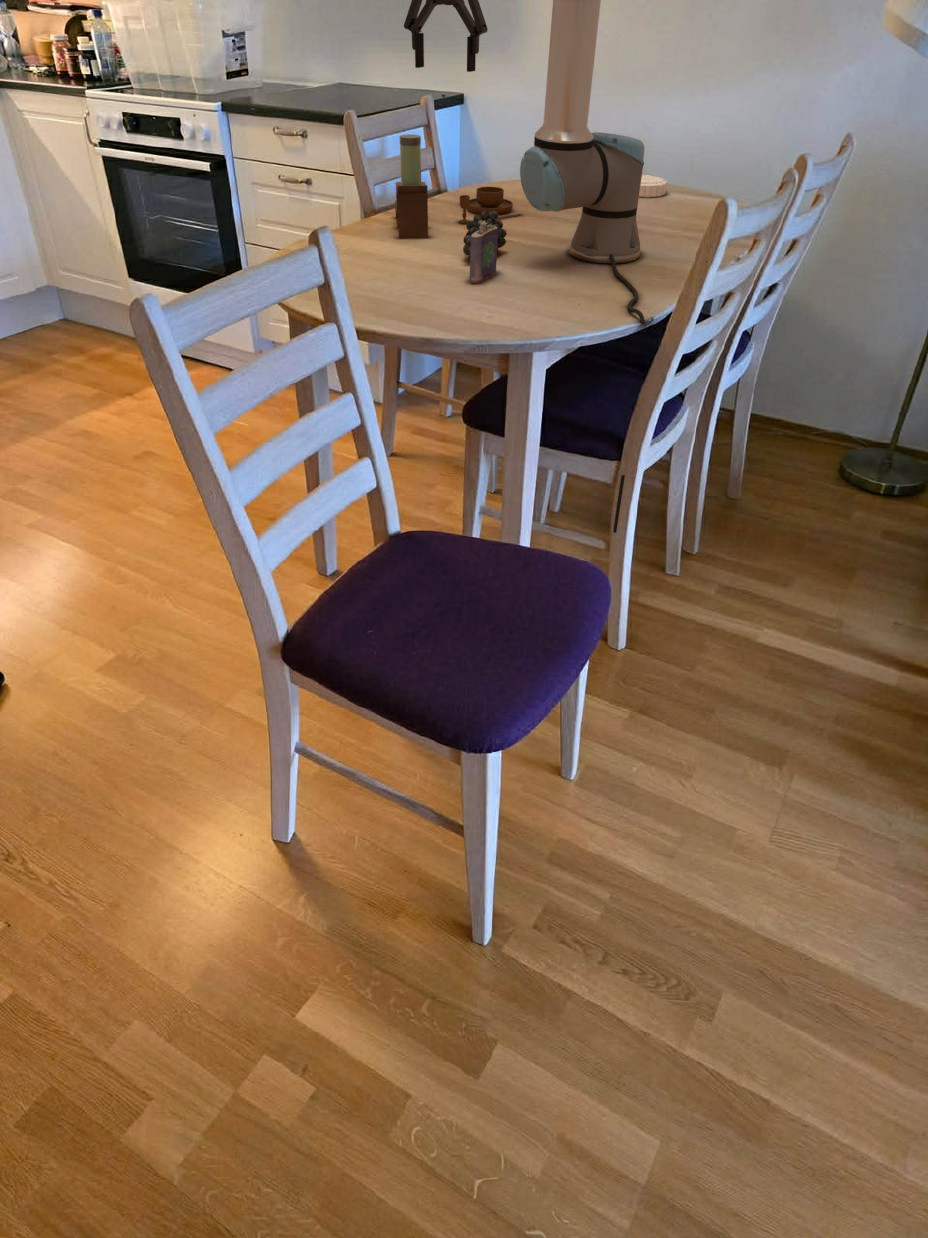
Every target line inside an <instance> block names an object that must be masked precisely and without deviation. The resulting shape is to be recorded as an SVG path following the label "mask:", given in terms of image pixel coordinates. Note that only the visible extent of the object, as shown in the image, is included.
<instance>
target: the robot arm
mask: <svg viewBox="0 0 928 1238" xmlns="http://www.w3.org/2000/svg"><path fill="white" fill-rule="evenodd" d="M601 2H602V0H552V6H551V7H552V8H551V21H550V22H551V23H550V35H549V46H548V48H549V49H548V57H547V58H548V60H547V61H548V62H547V73H546V84H545V85H546V86H545V87H546V88H545V96H544V97H545V98H544V100H545V101H544V110H543V111H544V112H543V123H542V125H541V126H540V128H539V129H538V130H537V131H535V133H534V138H533V139H534V140H533V146H530V148H528V149H527V150H525V151H524V153H523V156H522V157H521V160H520V166H519V178H520V183H521V187H522V192H523V194H524V195H525V197H526V200H527V201H528V203H529V204H530V205H531V206H532V207H533V208H534V209H535V210H537V211H539V212H542V213H543V212H545V213H546V212H555V213H558V212H561V211H565V210H572V209H577V208H578V209H579V208H582V210H581V215H580V219H579V222H578V224H577V226H576V229H575V232H574V234H573V237H572V239H571V241H570V242H571V243H570V247H569V254H570V255H571V256H573V257H574V258H576V259H578V260H582V261H585V262H590V263H597V264H611V265H612V270H613V273H614V275H615V276H616V277H617V278H618V280H620V281H622V283H624V284H625V286H626V287H627V288H628V289H629V290H630V291H631V292H632V293H633V298H631V299H630V300H629V302H628V303H627V305H626V308H627V310H628V312H630V313H634V314H636V315H638V317H639V321H640V324H641V325H645V324H646V321H645V317H644V314H643V313H642V311H641V310H640V309H638V308H635V307H632V305H633V304H635V302H636V301H638V298H639V293H638V290H637V289H636V288H635V287H634V286H633V285H632V284H631V282H629V280H627V279H626V278H625V277H624V276H623V275H621V273H620V272H619V270H618V268H617V264H624V263H629V262H630V263H631V262H633V261H635V260H638V259H639V258H640V255H641V240H640V235H639V234H640V233H639V227H638V222H637V214H638V213H637V212H638V205H639V198H640V197H639V191H640V184H641V177H642V175H643V170H644V165H645V161H644V158H645V144H644V143H643V141H642V140H641V139H638V138H635V137H631V136H626V135H621V134H617V133H608V132H601V131H600V132H599V131H593V132H591V130H590V129H589V127H588V123H589V122H588V121H589V112H590V105H591V104H590V103H591V96H592V94H591V93H592V86H593V77H594V67H595V57H596V47H597V38H598V30H599V20H600V14H601V13H600V11H601ZM422 3H423V0H411V2H410V5H409V8H408V11H407V14H406V17H405V19H404V23H403V28H404V29H405V30H408V31H409V32H410V33H411V48H412V50H413V51H414V67H415V68H416V69H421V68H425V34H424V32H422V29H423V27H424V25H425V24H426V22H427V21H428V19H429V17H430V16H431V14H432V12H433V11H434V9H435V8H436V6H441V5H442V6H452V7H453V8H454V9H455V10H456V12H457V13H458V16H459V17H460V19H461V21H462V22H463V24H464V26H465V27H466V29H467V32H468V33H469V35H468V36H467V37H466V73H471V72H476V60H477V59H476V57H477V55H478V54H479V52H480V38H481V37H480V36H481V35H483V34H486V33H488V31H489V30H488V26H487V23H486V19H485V16H484V13H483V10H482V7H481V5H480V1H479V0H467V3H468V5H469V8H470V11H471V13H470V11H469V9H468V7H467V6H466V4H465V0H425V3H424V5H423V6H422ZM421 6H422V8H421ZM420 9H421V10H420ZM625 477H626V474H621V475H620V482H619V487H618V488H619V489H618V496H617V501H616V509H615V515H614V522H613V529H612V533H614V534H616V533H617V530H618V524H619V517H620V511H621V505H622V498H623V491H624V485H625Z"/></svg>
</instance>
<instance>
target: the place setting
mask: <svg viewBox="0 0 928 1238" xmlns="http://www.w3.org/2000/svg"><path fill="white" fill-rule="evenodd" d="M504 193H505V190H504V189H503V188H502V187H498V186H479V187H477V188H476V195H475V196H476V197H475V198H471V197H470V195H467V194H462V195H459V207H460V209H462V213H461V214H462V216H461V217H462V219H461V220H459V221H458V224H460V225H467V223H469V222H470V221H471V220H468V219H467V215H468V213H467V210H469V211H470V212H472V213H474V214H479V215H481V214H482V212H483V211H487V212H489V213H490V212H492V211H496V212H497V213H498V215H501V216H499V217H498V220H501V218H508V217H509V218H510V217H517V216H521V215H522V214H521V213H519V214H509V215H503V214H507V213H508V212H509V211H511V210H512V209H513V206H514V202H513V201H511V200H509V199H506V198H504V196H505V194H504Z"/></svg>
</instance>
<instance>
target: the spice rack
mask: <svg viewBox="0 0 928 1238" xmlns="http://www.w3.org/2000/svg"><path fill="white" fill-rule="evenodd" d="M428 193H429V191H428V185H427V183H426V181H421V185H401V181H396V182H395V199H396V200H395V201H394V203H395V204H394V206H395V207H394V209H395V219H396V226H397V227H396V228H397V230H398V239H428V238H429V204H428V203H429V202H428V201H429V200H428V199H429V198H428Z"/></svg>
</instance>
